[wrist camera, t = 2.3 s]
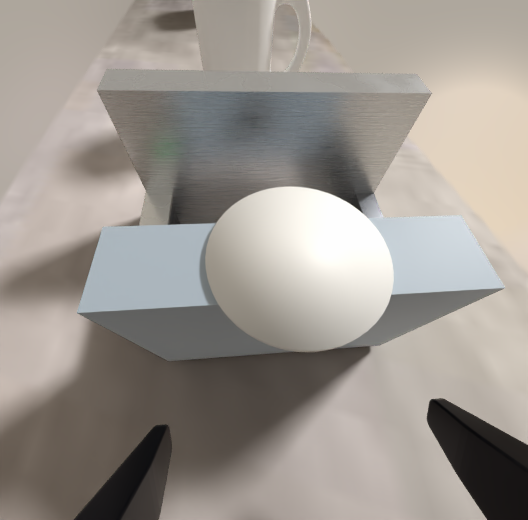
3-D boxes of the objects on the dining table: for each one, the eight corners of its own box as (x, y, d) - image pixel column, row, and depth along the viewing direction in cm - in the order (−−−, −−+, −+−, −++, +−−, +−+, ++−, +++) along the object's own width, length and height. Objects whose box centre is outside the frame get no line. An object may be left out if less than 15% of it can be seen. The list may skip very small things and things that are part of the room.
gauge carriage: (387, 371, 15) (540, 333, 7) (130, 392, 14) (-33, 377, 6) (360, 280, 18) (447, 183, 10) (146, 292, 17) (53, 191, 9)
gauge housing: (393, 321, 17) (542, 237, 8) (141, 339, 16) (8, 258, 7) (352, 201, 22) (417, 74, 14) (163, 206, 21) (102, 69, 12)
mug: (207, 136, 26) (179, -41, 16) (209, 100, 29) (186, -64, 19) (301, 135, 27) (334, -33, 17) (292, 101, 30) (315, -57, 20)
